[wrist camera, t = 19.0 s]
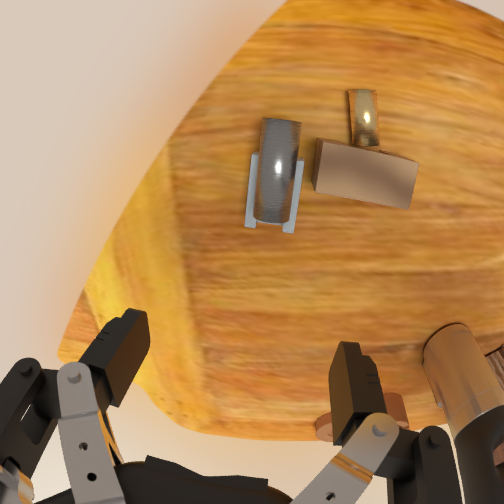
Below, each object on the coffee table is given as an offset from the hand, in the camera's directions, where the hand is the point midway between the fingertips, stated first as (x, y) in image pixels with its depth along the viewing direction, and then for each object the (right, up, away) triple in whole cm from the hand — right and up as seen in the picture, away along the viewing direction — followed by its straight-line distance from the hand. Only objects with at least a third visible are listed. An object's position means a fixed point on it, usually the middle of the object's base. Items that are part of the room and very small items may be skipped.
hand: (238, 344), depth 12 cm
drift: (+11, +18, +17) cm, 27 cm away
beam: (+12, +13, +20) cm, 27 cm away
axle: (+3, +13, +19) cm, 23 cm away
